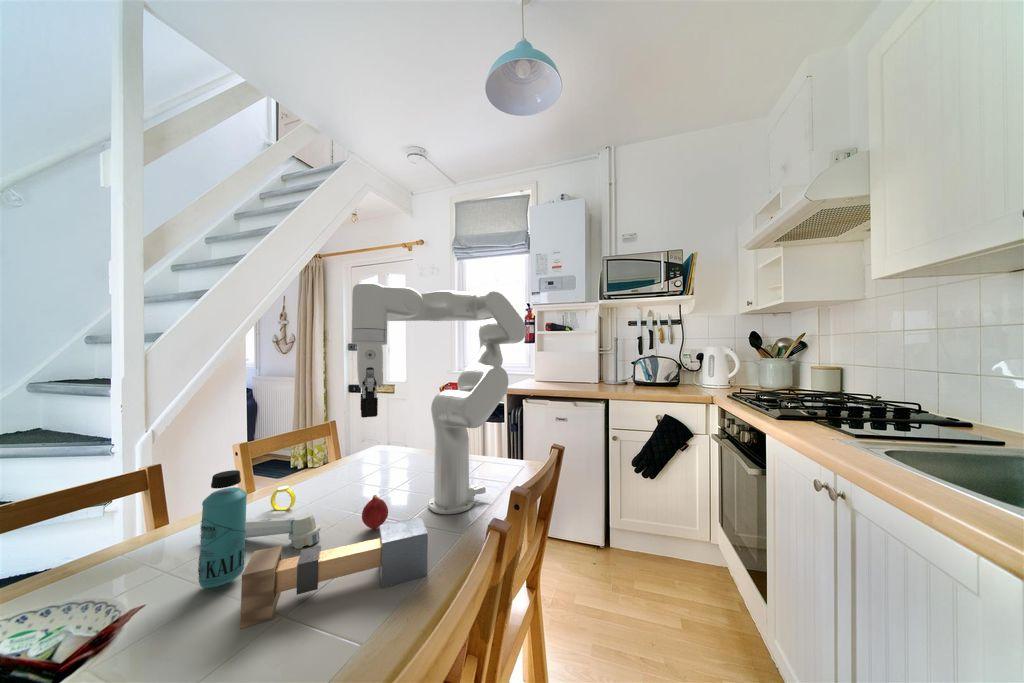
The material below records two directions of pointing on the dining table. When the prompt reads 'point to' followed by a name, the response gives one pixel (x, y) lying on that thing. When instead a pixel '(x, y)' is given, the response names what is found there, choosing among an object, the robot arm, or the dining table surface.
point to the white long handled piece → (286, 529)
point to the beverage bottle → (223, 531)
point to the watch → (282, 489)
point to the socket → (259, 587)
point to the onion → (374, 513)
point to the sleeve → (403, 551)
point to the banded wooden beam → (326, 565)
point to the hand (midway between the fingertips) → (368, 413)
